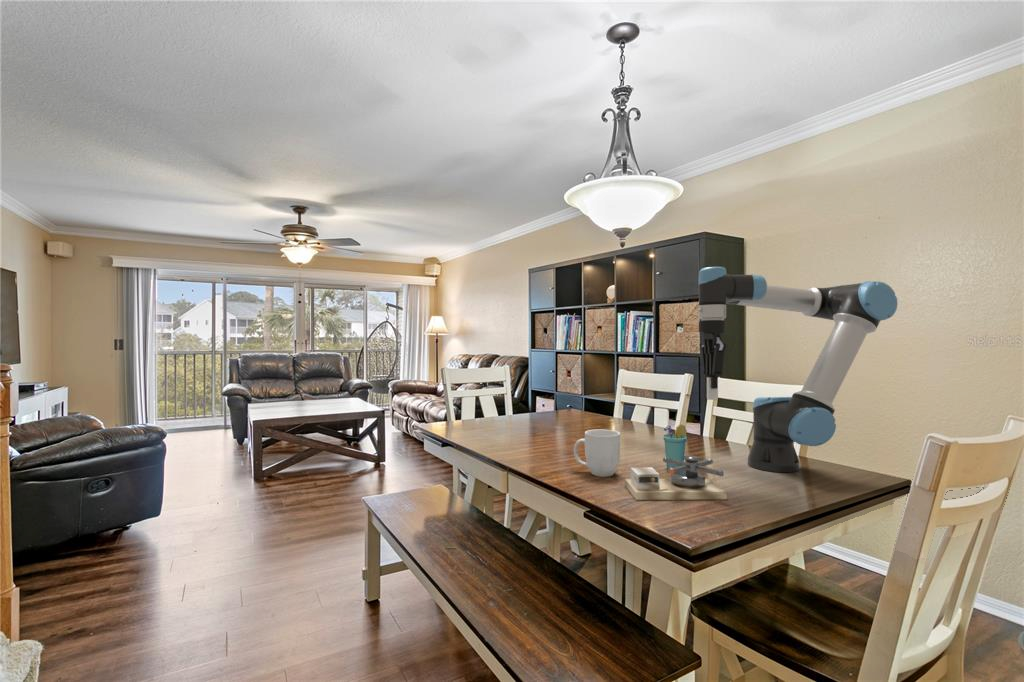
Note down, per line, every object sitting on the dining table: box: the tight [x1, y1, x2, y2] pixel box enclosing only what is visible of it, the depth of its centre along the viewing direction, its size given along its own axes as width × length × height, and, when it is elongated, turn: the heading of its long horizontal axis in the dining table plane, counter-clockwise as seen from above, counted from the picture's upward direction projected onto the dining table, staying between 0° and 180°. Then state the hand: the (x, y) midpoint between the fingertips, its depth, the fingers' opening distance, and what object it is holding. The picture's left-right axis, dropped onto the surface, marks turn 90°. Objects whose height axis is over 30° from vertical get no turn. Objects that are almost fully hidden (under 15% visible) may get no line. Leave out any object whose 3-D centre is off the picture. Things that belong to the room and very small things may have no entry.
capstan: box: [662, 454, 724, 488], centre depth 134 cm, size 19×19×7 cm
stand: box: [624, 466, 728, 501], centre depth 134 cm, size 24×12×6 cm, turn 91°
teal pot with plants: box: [662, 424, 688, 471], centre depth 157 cm, size 14×8×15 cm, turn 140°
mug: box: [573, 428, 621, 478], centre depth 153 cm, size 15×11×13 cm
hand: (712, 399), depth 144 cm, fingers closed
